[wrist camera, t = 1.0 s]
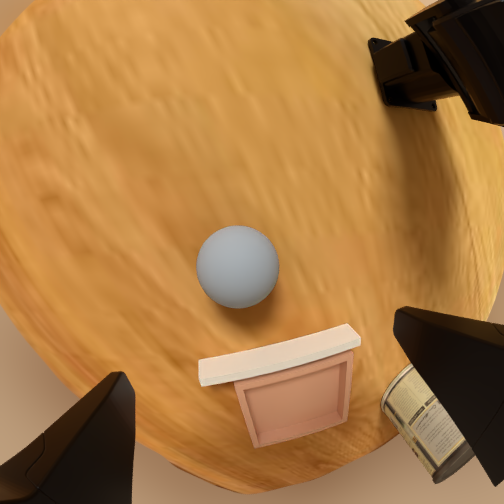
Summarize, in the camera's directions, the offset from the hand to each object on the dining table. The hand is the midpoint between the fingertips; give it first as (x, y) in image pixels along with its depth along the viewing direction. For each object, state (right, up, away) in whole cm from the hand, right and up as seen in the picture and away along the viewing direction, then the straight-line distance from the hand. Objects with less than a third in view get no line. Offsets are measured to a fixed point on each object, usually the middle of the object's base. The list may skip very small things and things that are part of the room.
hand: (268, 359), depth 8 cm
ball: (-2, +3, +11) cm, 12 cm away
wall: (+2, -5, +14) cm, 15 cm away
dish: (+4, -11, +16) cm, 20 cm away
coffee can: (+20, -14, +20) cm, 32 cm away
